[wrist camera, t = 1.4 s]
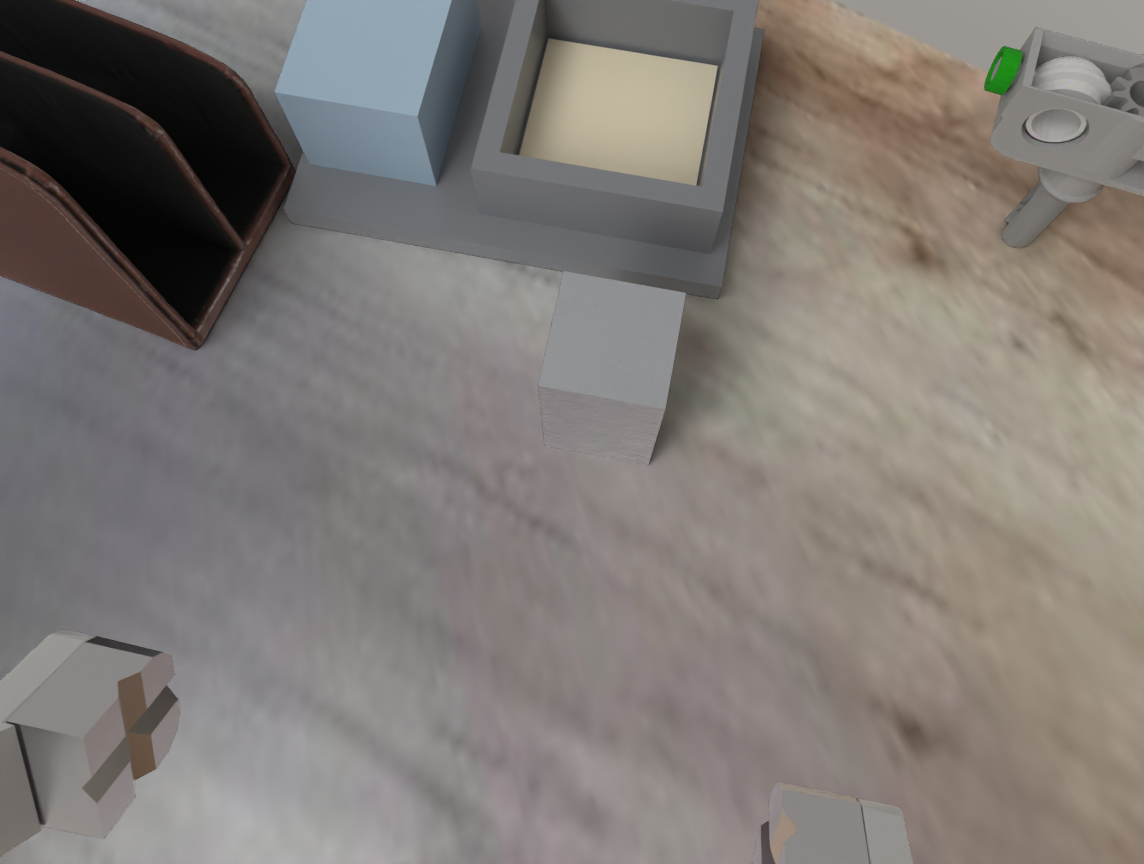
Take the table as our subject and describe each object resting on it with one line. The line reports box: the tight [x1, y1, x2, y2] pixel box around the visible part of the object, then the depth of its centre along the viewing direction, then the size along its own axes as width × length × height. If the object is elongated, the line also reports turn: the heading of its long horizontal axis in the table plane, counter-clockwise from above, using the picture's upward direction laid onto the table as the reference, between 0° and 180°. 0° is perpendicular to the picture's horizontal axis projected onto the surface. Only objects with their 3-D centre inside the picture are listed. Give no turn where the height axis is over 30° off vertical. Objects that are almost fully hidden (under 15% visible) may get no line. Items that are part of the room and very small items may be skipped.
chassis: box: [274, 0, 764, 299], centre depth 39 cm, size 20×14×6 cm
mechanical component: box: [984, 27, 1144, 248], centre depth 36 cm, size 3×10×10 cm, turn 71°
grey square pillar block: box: [538, 271, 686, 465], centre depth 35 cm, size 4×4×8 cm
